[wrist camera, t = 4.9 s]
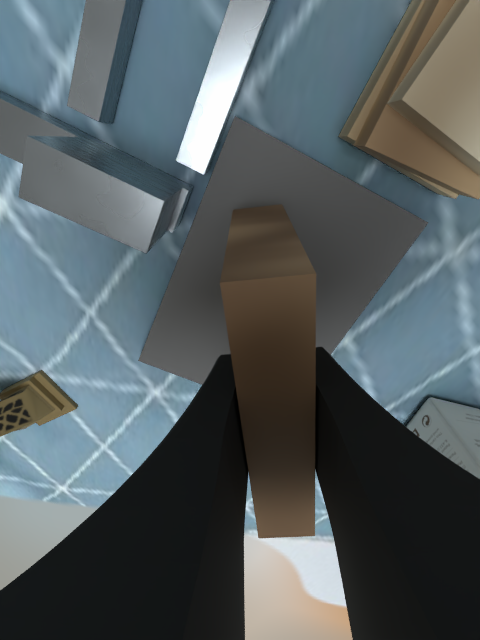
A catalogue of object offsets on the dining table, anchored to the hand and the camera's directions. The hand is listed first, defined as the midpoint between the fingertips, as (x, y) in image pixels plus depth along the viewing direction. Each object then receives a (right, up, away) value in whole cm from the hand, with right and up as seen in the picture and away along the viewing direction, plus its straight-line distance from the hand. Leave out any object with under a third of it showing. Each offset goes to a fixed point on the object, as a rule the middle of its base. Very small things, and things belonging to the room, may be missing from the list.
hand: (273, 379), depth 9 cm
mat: (0, +3, +5) cm, 6 cm away
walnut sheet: (0, +2, +3) cm, 4 cm away
